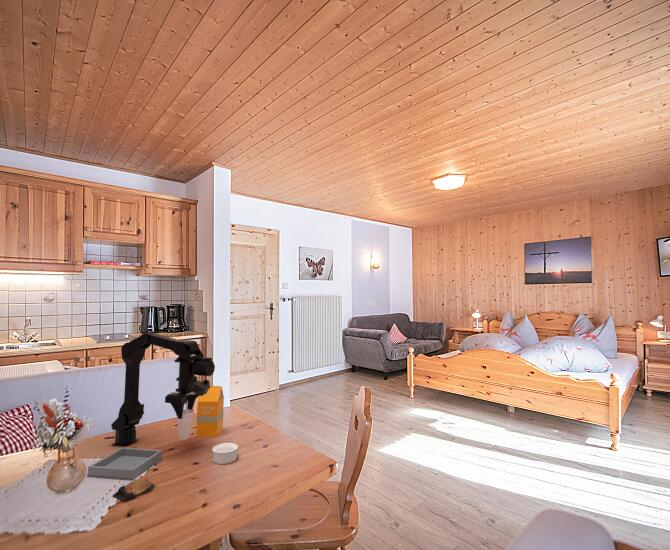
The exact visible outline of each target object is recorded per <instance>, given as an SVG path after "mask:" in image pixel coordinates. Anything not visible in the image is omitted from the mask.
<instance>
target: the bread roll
mask: <svg viewBox="0 0 670 550" xmlns="http://www.w3.org/2000/svg"><path fill="white" fill-rule="evenodd" d="M158 487H159V485H158V484H155V483H153V482H151V481H150V480H149V479H147V478H145V477H139V478H137V479H133V480H131V481H130V482H128V483H127V484H125V485H123V486H120V487H118V490H117V491H116V492H114V494H112V496H111V497H112V498H115V499H116V500H119V501H120V502H122V503H123V502H124V503H129V502H131V501H132V502H133V501H134V500H136V499H138V498H140V497H142V496H144V495H146V494H148V493H150V492H152V491H154V490H155V489H156V488H158Z"/></svg>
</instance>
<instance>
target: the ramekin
mask: <svg viewBox="0 0 670 550" xmlns="http://www.w3.org/2000/svg"><path fill="white" fill-rule="evenodd" d="M238 449H239V445H238V444H237V443H233V442H225V443H220V444H217V445H214V446H213V447H212V449H211V451H212V458H213V459H212V460H213V462H214V464H217V465H226V464H227V465H228V464H231V463H234V462H235V461H236V460H237V457H238V456H237V455H238Z"/></svg>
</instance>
